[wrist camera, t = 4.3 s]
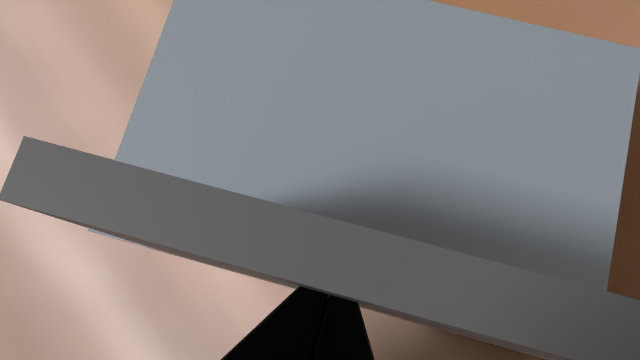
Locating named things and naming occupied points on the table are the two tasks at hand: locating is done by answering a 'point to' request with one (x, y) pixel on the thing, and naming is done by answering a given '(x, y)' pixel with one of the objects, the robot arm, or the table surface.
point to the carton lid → (376, 164)
